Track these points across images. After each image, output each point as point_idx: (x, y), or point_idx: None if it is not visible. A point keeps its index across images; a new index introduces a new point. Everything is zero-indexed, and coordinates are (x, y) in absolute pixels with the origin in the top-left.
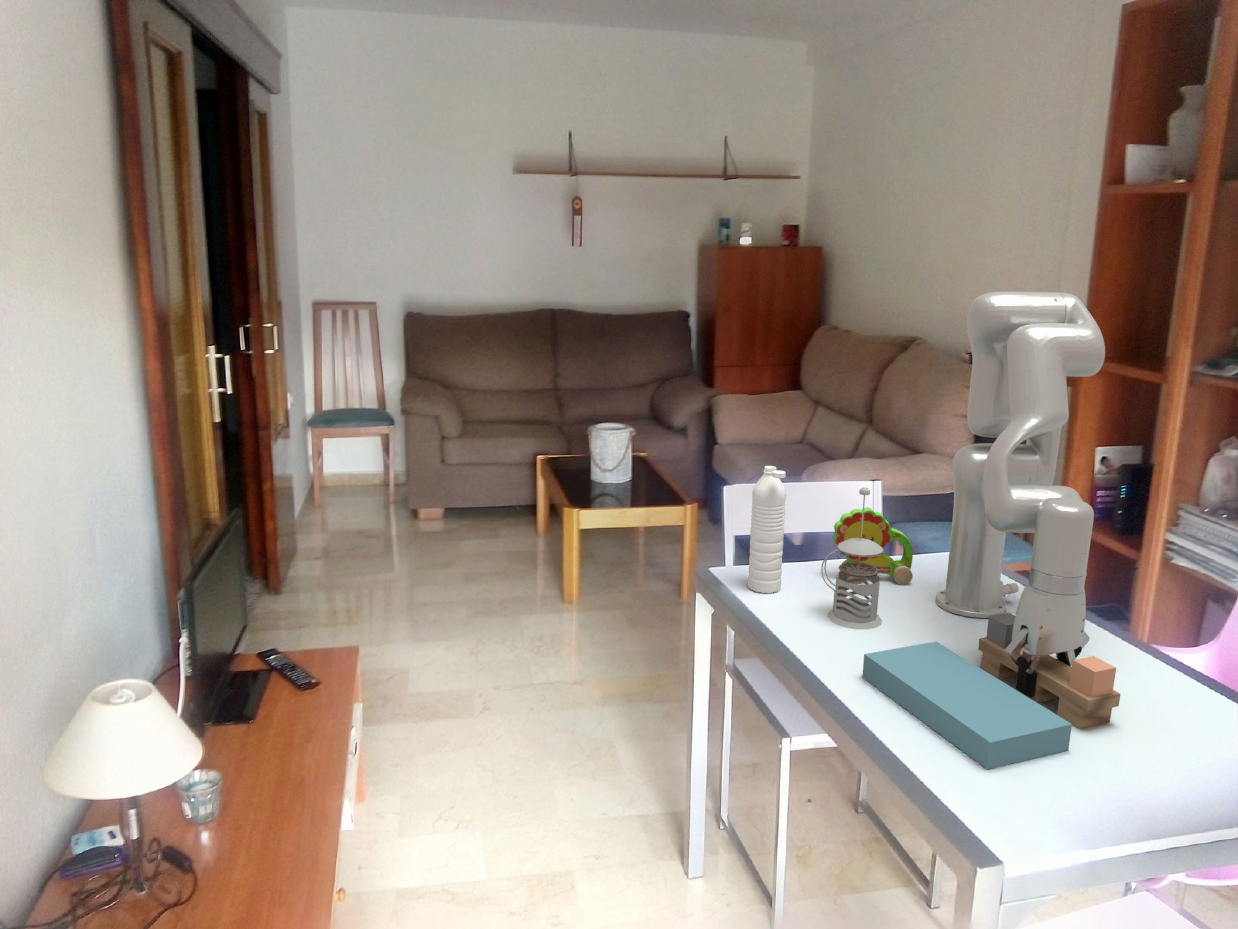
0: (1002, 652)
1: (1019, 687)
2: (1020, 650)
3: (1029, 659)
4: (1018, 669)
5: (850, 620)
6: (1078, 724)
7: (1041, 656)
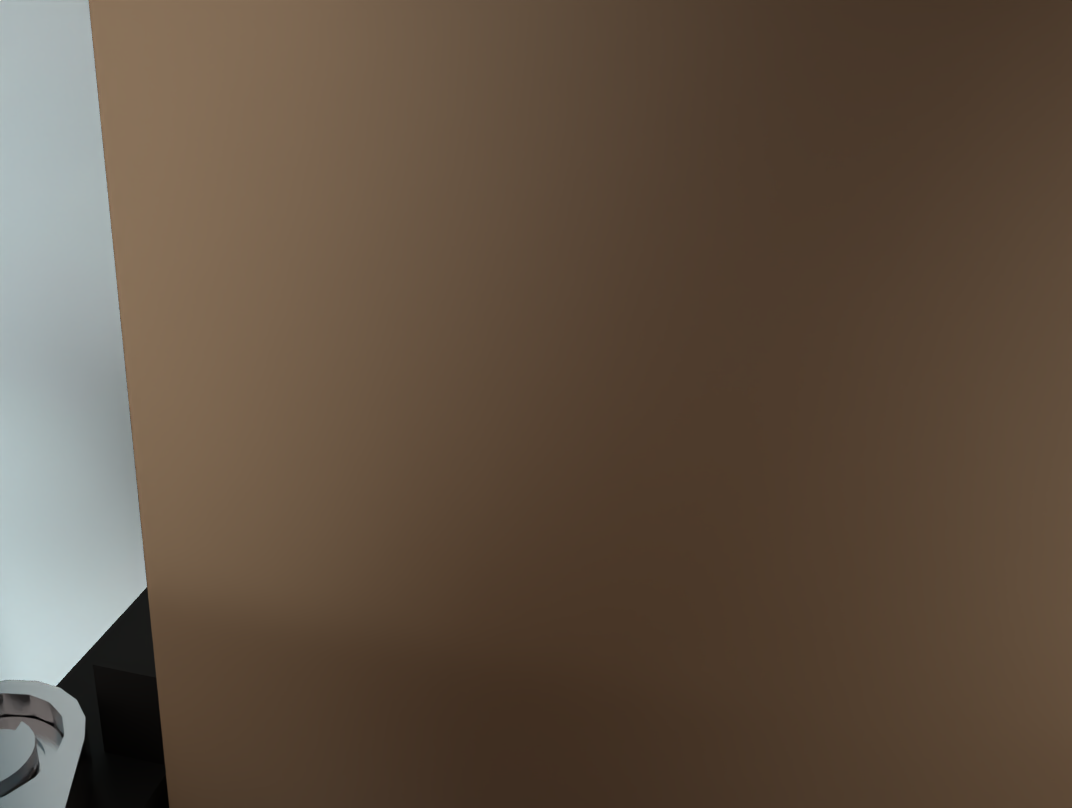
0: (100, 5)
1: None
2: (739, 251)
3: (451, 724)
4: (149, 609)
5: None
6: None
7: (918, 787)
